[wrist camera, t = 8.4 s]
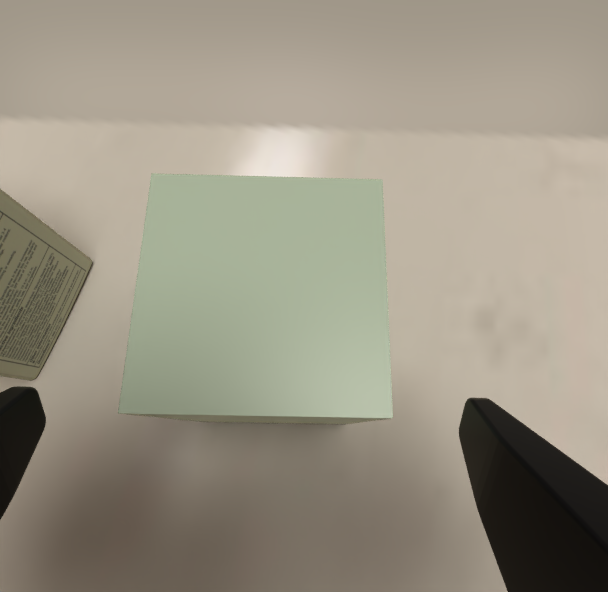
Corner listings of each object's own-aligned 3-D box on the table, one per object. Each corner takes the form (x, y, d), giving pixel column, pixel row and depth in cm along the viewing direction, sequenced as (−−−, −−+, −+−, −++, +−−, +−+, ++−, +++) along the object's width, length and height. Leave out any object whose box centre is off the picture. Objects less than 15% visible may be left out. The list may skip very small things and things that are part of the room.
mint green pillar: (345, 424, 19) (393, 418, 10) (203, 421, 19) (117, 413, 10) (343, 290, 21) (382, 179, 12) (214, 287, 21) (151, 173, 12)
